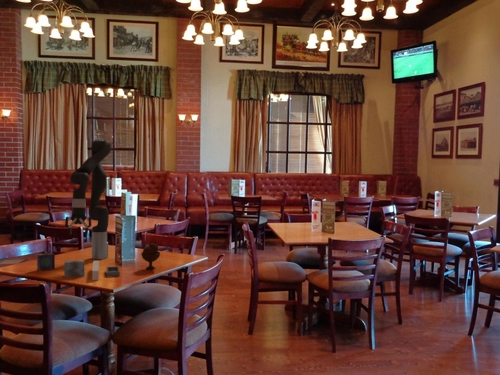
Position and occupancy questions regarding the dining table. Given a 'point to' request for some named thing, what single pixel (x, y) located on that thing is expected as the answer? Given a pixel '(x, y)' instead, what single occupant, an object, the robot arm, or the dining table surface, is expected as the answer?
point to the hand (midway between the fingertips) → (78, 234)
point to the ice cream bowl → (150, 255)
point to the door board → (95, 270)
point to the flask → (46, 261)
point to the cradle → (112, 271)
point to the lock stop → (74, 268)
